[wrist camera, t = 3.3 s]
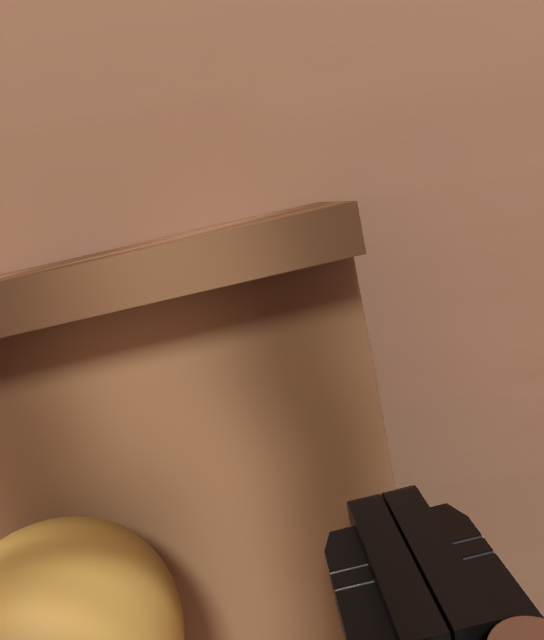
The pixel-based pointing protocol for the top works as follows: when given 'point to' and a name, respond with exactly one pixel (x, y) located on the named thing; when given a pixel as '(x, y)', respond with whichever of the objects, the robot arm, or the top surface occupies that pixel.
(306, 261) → the wooden slide tray
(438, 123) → the top surface
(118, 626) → the ball
